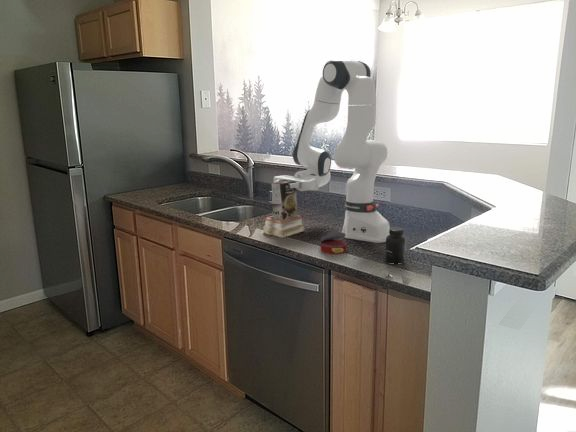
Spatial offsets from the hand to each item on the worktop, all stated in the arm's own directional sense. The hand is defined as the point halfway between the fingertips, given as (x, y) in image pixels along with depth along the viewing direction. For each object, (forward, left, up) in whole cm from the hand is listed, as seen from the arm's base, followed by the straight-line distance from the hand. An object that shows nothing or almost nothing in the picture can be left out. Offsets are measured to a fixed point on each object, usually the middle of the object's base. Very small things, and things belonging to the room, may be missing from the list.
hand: (282, 184), depth 192 cm
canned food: (-31, +6, -21) cm, 38 cm away
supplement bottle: (-55, +3, -21) cm, 59 cm away
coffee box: (-1, -1, -15) cm, 15 cm away
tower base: (0, 0, -21) cm, 21 cm away
